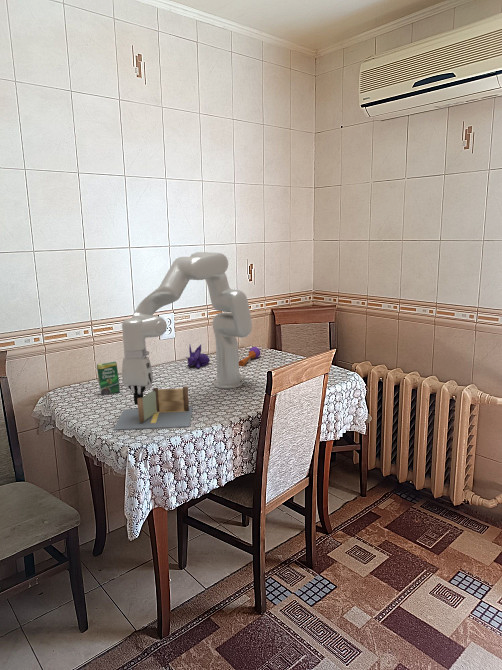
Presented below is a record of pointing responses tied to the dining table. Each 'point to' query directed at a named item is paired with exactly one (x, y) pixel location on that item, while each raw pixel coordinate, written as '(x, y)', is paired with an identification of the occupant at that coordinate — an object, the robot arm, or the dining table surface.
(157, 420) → the card
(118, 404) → the dining table surface
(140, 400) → the fence gate
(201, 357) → the creature
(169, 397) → the fence fixed
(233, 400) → the dining table surface
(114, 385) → the coffee box
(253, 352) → the kendama
